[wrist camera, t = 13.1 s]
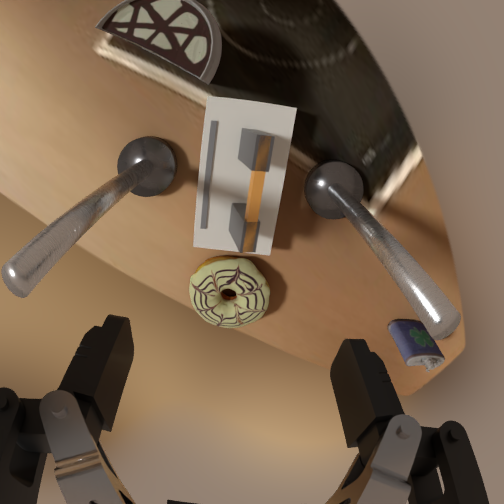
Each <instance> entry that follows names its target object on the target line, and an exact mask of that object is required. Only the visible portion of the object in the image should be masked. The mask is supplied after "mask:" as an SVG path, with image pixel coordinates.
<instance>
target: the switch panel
mask: <svg viewBox="0 0 504 504" xmlns="http://www.w3.org/2000/svg"><path fill="white" fill-rule="evenodd" d="M296 110H297V108H293V107H287V106H281V105H275V104H269V103H263V102H256V101H248V100H240V99H231V98H222V97H211V96H208V97H207V104H206V112H205V120H204V129H203V137H202V147H201V156H200V166H199V177H198V188H197V200H196V213H195V228H194V244H193V247H200V248H209V249H218V250H226V251H235V252H239V250H238V248H237V246H236V244H235V242H234V240H233V238H232V236H231V234H230V232H229V222H230V214H231V206H232V203H246V204H247V198H248V191H249V184H250V178H251V170H250V169H249V168H248V167H247V166H246V165H244V164H243V163H242V162H241V161H240V160H239V159H238V153H239V145H240V138H241V131H242V128H246V129H255V130H259V131H262V132H264V133H267V134H270V135H272V136H275V139H274V145H273V151H272V157H271V163H270V169H269V172H266V173H265V179H264V186H263V192H262V198H261V204H260V210H259V216H258V219H259V221H260V222H261V223H260V229H259V235H258V241H257V247H256V252H245V253H253V254H261V255H270V252H271V247H272V242H273V236H274V231H275V226H276V221H277V216H278V210H279V205H280V200H281V194H282V189H283V183H284V178H285V172H286V167H287V161H288V156H289V150H290V144H291V139H292V133H293V127H294V122H295V116H296Z"/></svg>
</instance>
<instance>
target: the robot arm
mask: <svg viewBox="0 0 504 504" xmlns="http://www.w3.org/2000/svg"><path fill="white" fill-rule="evenodd" d="M133 356H134V344H133V338H132V332H131V326H130V320H129V318H126V317H121V316H115V315H108V316H107V318H106V320H105V322H104V324H103V326H102V327H99V326H94V327H93V328H92V329H90V330H89V331H88V332H87V333H86V334H85V335H84V337H83V339H82V341H81V343H80V346H79V347H78V349H77V351H76V353H75V356H74V357H73V359H72V361H71V363H70V365H69V367H68V369H67V371H66V373H65V375H64V377H63V380H62V382H61V384H60V386H59V388H58V389H57V390H55V391H52V392H49V393H48V394H46V395H45V396H44V397H43V398H42V399H26V398H18V396H17V395H16V393H15V392H14V391H13V390H11V389H9V388H0V504H36V503H37V498H38V492H39V488H40V483H41V478H42V474H43V469H44V465H45V461H46V457H47V453H52V454H53V457H54V460H55V463H56V468H55V469H54V470H55V471H54V472H55V476H56V480H57V482H58V485H59V487H60V489H61V492H62V494H63V496H64V498H65V500H66V503H67V504H136V503H135V502H134V500H133V499H132V497H131V496H130V494H129V492H128V491H127V489H126V488H125V487H124V485H123V484H122V482H121V481H120V479H119V477H118V475H117V474H116V471H115V470H114V468H113V466H112V464H111V462H110V460H109V458H108V456H107V454H106V452H105V450H104V448H103V446H102V444H101V442H100V440H99V438H100V434H101V430H106V431H110V432H111V430H112V426H113V423H114V420H115V416H116V413H117V409H118V406H119V402H120V399H121V396H122V392H123V389H124V386H125V383H126V380H127V377H128V373H129V370H130V367H131V364H132V361H133ZM330 377H331V382H332V386H333V390H334V394H335V397H336V402H337V406H338V410H339V414H340V417H341V422H342V426H343V430H344V434H345V439H346V443H347V447H348V448H351V447H358V448H359V453H358V454H357V455H356V457H355V459H354V461H353V463H352V465H351V466H350V468H349V470H348V472H347V474H346V475H345V477H344V479H343V481H342V482H341V484H340V486H339V487H338V489H337V490H336V492H335V493H334V494H333V496H332V497H331V498H330V499H329V500H328V501H327V502H326V503H325V504H406V502H407V499H408V501H409V504H489V501H488V498H487V494H486V490H485V487H484V483H483V480H482V476H481V473H480V470H479V467H478V464H477V461H476V458H475V455H474V452H473V450H472V447H471V445H470V441H469V439H468V436H467V433H466V431H465V429H464V427H463V426H462V425H461V424H459V423H458V422H456V421H447V422H445V423H444V424H443V425H442V426H441V427H439V428H431V427H422V426H420V425H419V423H418V422H417V421H416V420H415V419H414V418H413V417H411V416H409V415H405V413H404V412H403V409H402V406H401V404H400V401H399V399H398V397H397V394H396V391H395V389H394V386H393V384H392V382H391V379H390V377H389V374H387V369H386V367H385V365H384V362H383V361H382V360H381V359H380V357H379V356H378V355H377V354H376V353H375V352H370V350H369V348H368V345H367V343H366V341H365V340H364V339H345V340H344V341H343V342H342V344H341V346H340V349H339V351H338V353H337V355H336V357H335V359H334V361H333V363H332V366H331V370H330ZM437 467H439V469H440V472H441V476H442V480H443V483H444V488H445V491H444V494H443V492H442V488H441V484H440V480H439V476H438V473H437V469H436V468H437ZM167 504H194V503H187V502H179V501H173V500H167ZM195 504H196V503H195Z"/></svg>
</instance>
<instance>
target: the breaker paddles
mask: <svg viewBox="0 0 504 504" xmlns="http://www.w3.org/2000/svg"><path fill="white" fill-rule="evenodd" d="M274 139H275V136H272V135H270V134H267V133H264V132H262V131H259V130H255V129H246V128H242V131H241V138H240V145H239V153H238V159H239V160H240V161H241V162H242V163H243V164H244V165H246V166H247V167H248V168H249V169H250V170H251V178H250V184H249V191H248V198H247V204H246V203H232V206H231V214H230V222H229V232H230V234H231V236H232V238H233V240H234V242H235V244H236V246H237V248H238V250H239V252H240V253H245V252H256V247H257V241H258V235H259V229H260V223H261V222H260V221H259V219H258V216H259V210H260V204H261V198H262V192H263V186H264V179H265V173H266V172H269V169H270V163H271V157H272V151H273V145H274Z"/></svg>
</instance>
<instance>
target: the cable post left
mask: <svg viewBox="0 0 504 504" xmlns="http://www.w3.org/2000/svg"><path fill="white" fill-rule="evenodd" d="M117 168H118V175H117V176H115V177H114V178H112V179H111V180H109V181H108V182H107V183H105V184H104V185H102V186H101V187H99V188H98V189H96V190H95V191H94V192H92V193H91V194H89V195H88V196H86V197H85V198H84V199H82V200H81V201H80V202H78V203H77V204H76V205H74V206H73V207H72V208H70V209H69V210H68V211H66V212H65V213H64V214H62V215H61V216H60V217H59V218H57V219H56V220H55V221H54V222H52V223H51V224H50V225H49V226H47V227H46V228H45V229H44V230H42V231H41V232H40V233H39V234H38V235H37V236H35V238H33V239H32V240H31V241H30V242H29V243H27V244H26V245H25V246H24V247H23V248H22V249H21V250H19V251H18V252H17V253H16V254H15V255H14V256H13V257H12V258H11V259H10V260H9V261H8V262H6V263H5V264H4V265H3V267H2V278H3V280H4V283H5V284H6V286H7V287H8V289H9V290H10V291H11V292H12V293H13V294H15V295H16V296H18V297H21V298H24V297H27V296H28V295H29V293H30V292H31V291H32V290H33V289H34V287H35V286H36V285H37V284H38V283H39V282H40V281H41V279H42V278H43V277H44V276H45V275H46V274H47V273H48V271H49V270H50V269H51V268H52V267H53V266H54V265H55V264H56V263H57V262H58V260H59V259H60V258H61V257H62V256H63V255H64V254H65V253H66V252H67V251H68V250H69V249H70V248H71V247H72V246H73V245H74V244H75V243H76V242H77V241H78V240H79V239H80V238H81V237H82V236H83V235H84V234H85V233H86V232H87V231H88V230H89V229H90V228H91V227H92V226H93V225H94V224H95V223H96V222H97V221H98V220H99V219H100V218H101V217H102V216H103V215H104V214H105V213H107V212H108V211H109V210H110V209H111V208H112V207H113V206H114V205H115V204H116V203H117V202H119V201H120V200H121V199H122V198H123V197H124V196H125V195H126V194H128V193H129V192H132V193H133V194H135V195H138V196H143V197H150V196H155V195H157V194H159V193H161V192H163V191H164V190H165V189H166V188H167V187H168V186H169V185H170V183H171V182H172V181H173V179H174V177H175V175H176V171H177V159H176V155H175V153H174V151H173V149H172V148H171V146H170V145H169V144H168V143H167V142H165V141H164V140H162V139H160V138H158V137H154V136H145V137H141V138H138V139H136V140H133V141H132V142H130V143H129V144H127V145H126V146H125V147H124V149H123V150H122V152H121V154H120V156H119V159H118V165H117Z"/></svg>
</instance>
